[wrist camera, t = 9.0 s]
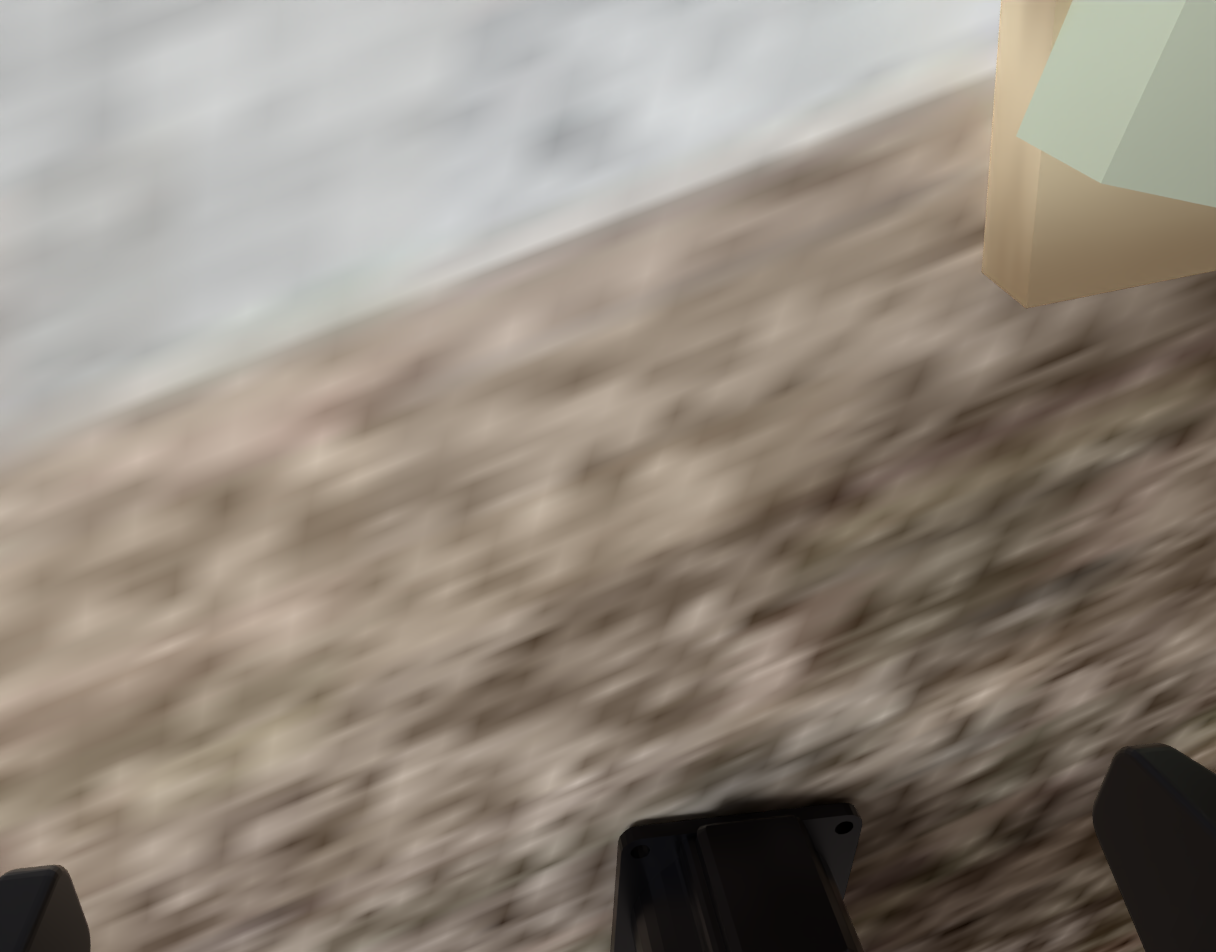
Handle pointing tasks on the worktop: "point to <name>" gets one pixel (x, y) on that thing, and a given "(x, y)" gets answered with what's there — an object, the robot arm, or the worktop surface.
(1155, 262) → the maple slab
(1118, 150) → the sage slab
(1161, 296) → the worktop surface
